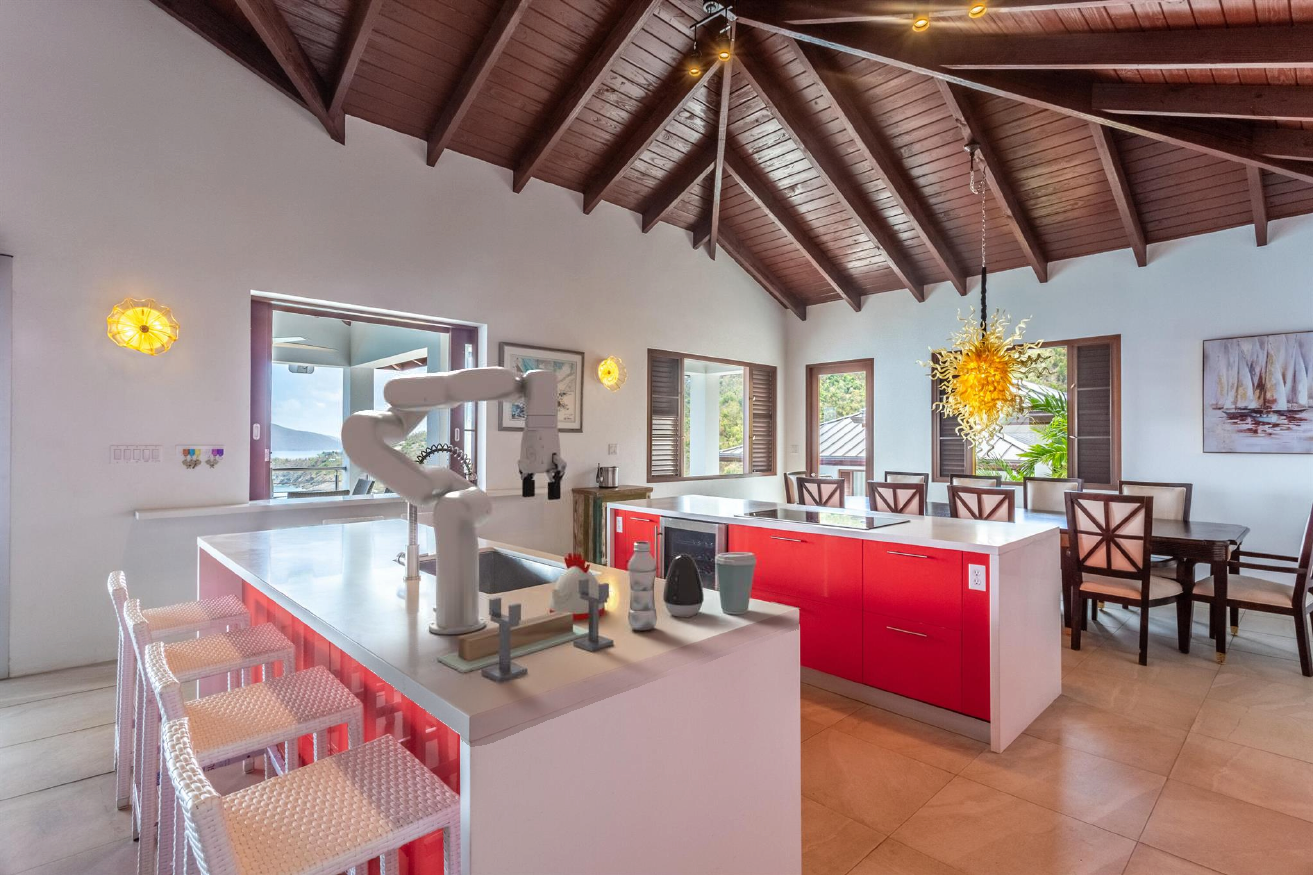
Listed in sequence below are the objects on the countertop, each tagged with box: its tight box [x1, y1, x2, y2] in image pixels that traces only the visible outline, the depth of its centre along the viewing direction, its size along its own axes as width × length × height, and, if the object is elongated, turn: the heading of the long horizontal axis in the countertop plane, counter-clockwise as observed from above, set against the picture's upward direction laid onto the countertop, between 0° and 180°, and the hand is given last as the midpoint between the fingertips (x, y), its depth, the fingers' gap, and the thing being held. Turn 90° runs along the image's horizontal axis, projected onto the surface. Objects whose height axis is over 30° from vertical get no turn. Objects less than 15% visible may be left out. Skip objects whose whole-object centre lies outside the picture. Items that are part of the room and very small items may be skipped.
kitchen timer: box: [549, 552, 606, 621], centre depth 155 cm, size 14×14×15 cm
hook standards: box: [481, 578, 615, 684], centre depth 122 cm, size 7×28×14 cm, turn 137°
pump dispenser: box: [662, 553, 705, 618], centre depth 153 cm, size 10×10×15 cm
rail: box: [457, 610, 574, 662], centre depth 129 cm, size 4×26×4 cm, turn 138°
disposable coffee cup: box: [714, 551, 757, 615], centre depth 156 cm, size 11×11×15 cm
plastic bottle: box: [627, 540, 658, 631], centre depth 141 cm, size 6×7×20 cm
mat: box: [436, 624, 589, 674], centre depth 129 cm, size 10×32×1 cm, turn 137°
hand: (541, 498), depth 141 cm, fingers open, 9 cm apart
